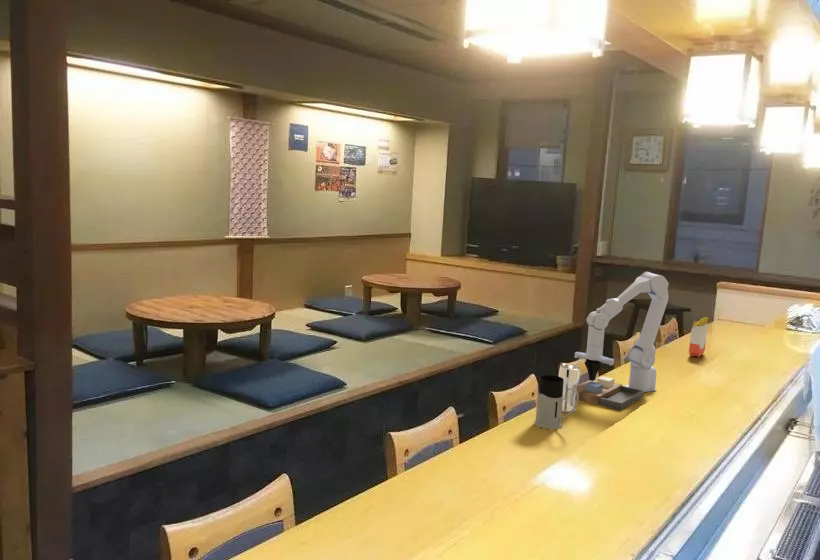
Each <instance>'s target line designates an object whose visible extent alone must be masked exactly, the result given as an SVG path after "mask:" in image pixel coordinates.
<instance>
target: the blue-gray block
mask: <svg viewBox="0 0 820 560" xmlns="http://www.w3.org/2000/svg"><path fill="white" fill-rule="evenodd" d="M585 391H588V392H592V393H596V394H598V393H600V392H602V391H603V384H600V383H595V382H589V383H587V384H586V388H585Z"/></svg>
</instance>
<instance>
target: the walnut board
mask: <svg viewBox="0 0 820 560" xmlns="http://www.w3.org/2000/svg"><path fill="white" fill-rule="evenodd" d="M597 380H598V378H595V380H594V381H591V380H589V379H587V380H586V381H583V382H582V383H579V387H578V391H577V392H578V396H579V399H578V401H581V402H582V401H583V402H587V403H590V404H595V405H599V406H601V405H600V398H605V399H607V398H609V397H611V396H612V395H614V394H616V393H618V392H620V391H622V386H623V384H622V383H621V384H620V383H617V382H614V385H613V386H611V387H609V388H607V387H603V391H602V392H600V393H598V394H596V393H592V392H588V391H585V388H586V384H587V383H589V382H595V383H597ZM576 400H577V395H576Z"/></svg>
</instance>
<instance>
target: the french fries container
mask: <svg viewBox="0 0 820 560" xmlns="http://www.w3.org/2000/svg"><path fill="white" fill-rule="evenodd" d="M708 319H709V317H705V316H704V317H701V318H700V319H699V320H698V321H696V320H694V321H693V325H692V326H691V332H690V339H689V347H688V348H689V349H688V354H689V356H690V357H693V356H697V357H696V358H699V357H700V356H701V355H702V354H703V355H704V353H705V350H706V344H707V342H706V341H707V333H708V326H709V325H708V324H709V323H708ZM701 357H702V356H701ZM701 357H700V358H701Z"/></svg>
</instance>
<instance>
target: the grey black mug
mask: <svg viewBox="0 0 820 560" xmlns="http://www.w3.org/2000/svg"><path fill="white" fill-rule="evenodd" d="M538 380H539V381H538V386H537V398H536V412H535V413H536V414H535V420H534V421H533V424H534V423H535V424H536V425H537V426H539V427H538V428H540V427H542V428H541V429H543V428H548V429H547V430H551V429H555V430H559V428H560V429H561V427H562V428H563V424H562V420H563V419H565V418H567V417H568V416H569V415H571V414H573V413H574V412H573V411H574V410H575V408H576V409H577V407H578V403H579V400H578V399H579V396H578V392H577V391H576V390H575V389H573V388H569V389H567V390H566V392H565V398H563V385H564V379H563V378H561V377H559V375H551V374H545V375H540V376H539V379H538ZM570 389H572V390H574V391H575V392H576V395H577V399H576V400H575V407H574V408H573V410H572V411H571V412H570V413H567V414H565V415H564V416H563V415H562V414H563V412H562V404H563V400H564V399H566V397H567V392H568V391H569V390H570ZM572 412H573V413H572ZM535 424H534V425H535ZM536 425H535V426H536ZM537 426H536V427H537Z"/></svg>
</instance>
